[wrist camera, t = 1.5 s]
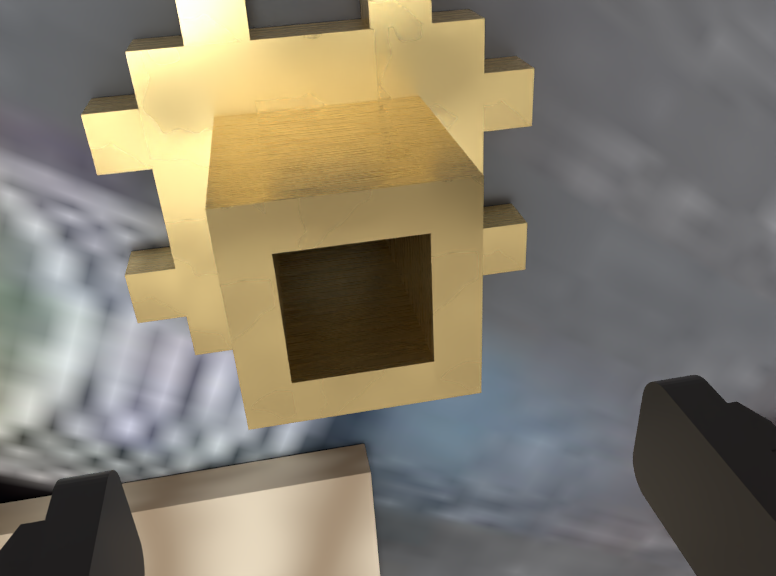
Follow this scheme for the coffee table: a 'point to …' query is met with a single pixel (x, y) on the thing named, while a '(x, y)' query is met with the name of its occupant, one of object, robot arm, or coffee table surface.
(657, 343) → the coffee table surface
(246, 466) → the carrier plate
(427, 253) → the gear
